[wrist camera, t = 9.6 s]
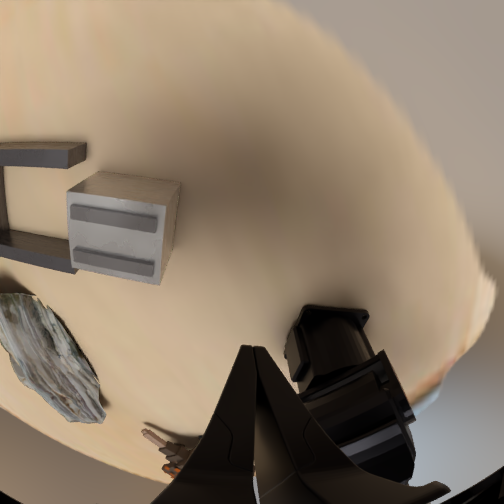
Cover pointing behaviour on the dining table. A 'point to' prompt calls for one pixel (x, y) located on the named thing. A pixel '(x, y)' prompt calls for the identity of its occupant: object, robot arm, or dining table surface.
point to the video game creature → (171, 453)
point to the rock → (48, 359)
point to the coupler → (26, 244)
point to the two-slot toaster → (122, 225)
